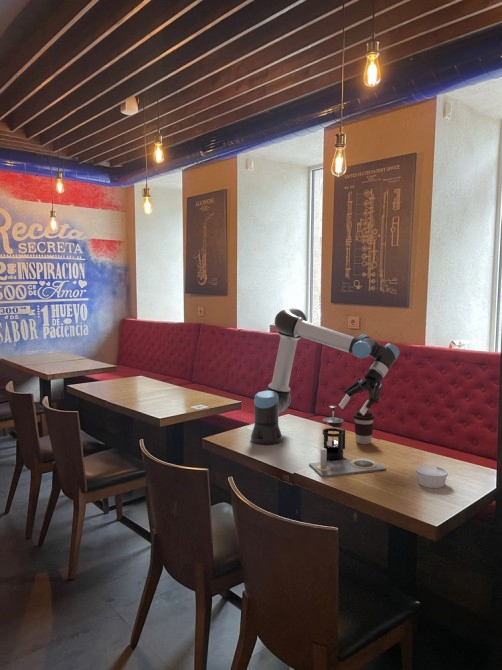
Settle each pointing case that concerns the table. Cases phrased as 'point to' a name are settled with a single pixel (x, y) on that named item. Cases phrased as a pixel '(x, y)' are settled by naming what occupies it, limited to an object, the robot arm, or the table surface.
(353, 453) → the table surface
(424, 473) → the ramekin
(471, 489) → the table surface
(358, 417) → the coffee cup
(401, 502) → the table surface
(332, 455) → the french press
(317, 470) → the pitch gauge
